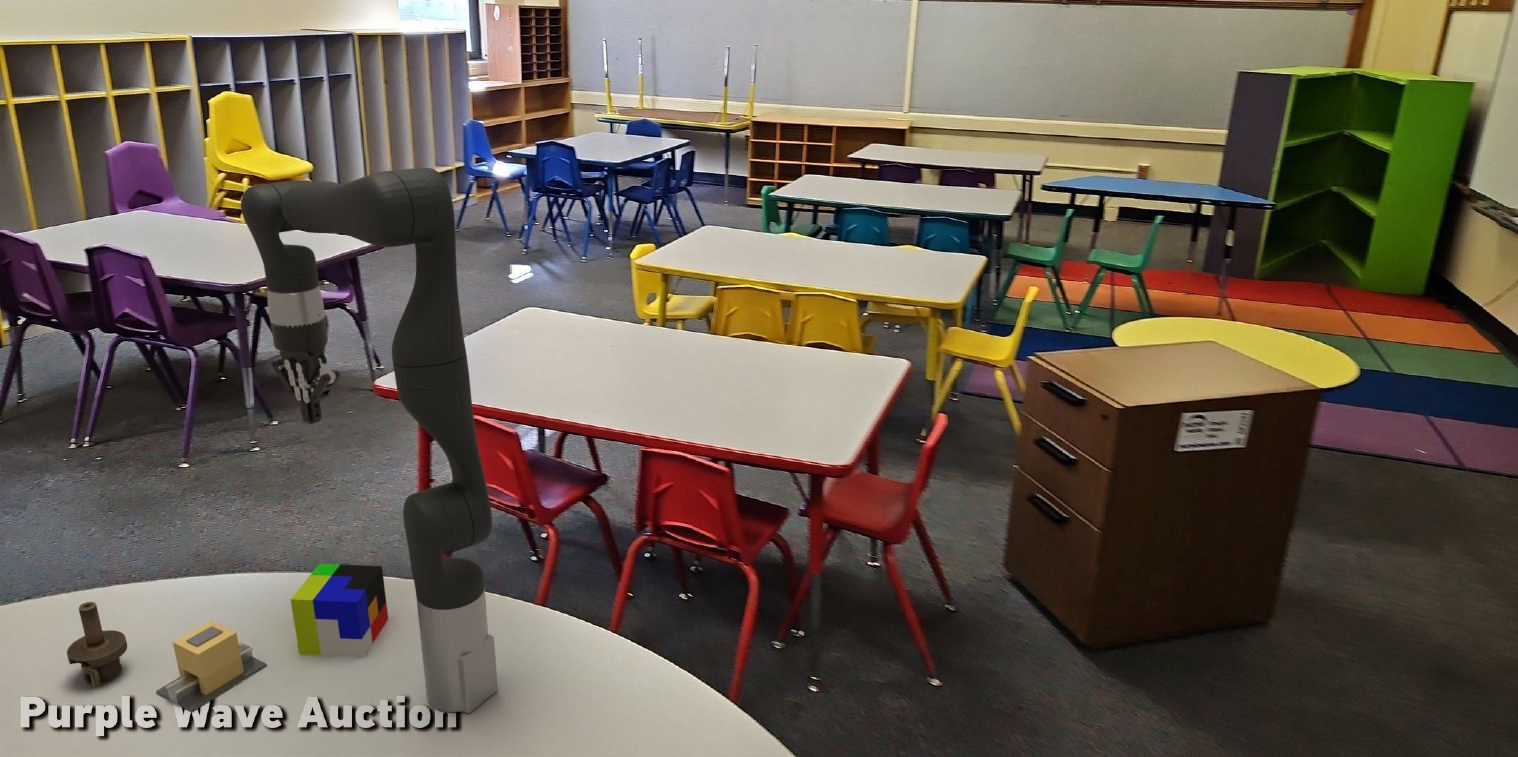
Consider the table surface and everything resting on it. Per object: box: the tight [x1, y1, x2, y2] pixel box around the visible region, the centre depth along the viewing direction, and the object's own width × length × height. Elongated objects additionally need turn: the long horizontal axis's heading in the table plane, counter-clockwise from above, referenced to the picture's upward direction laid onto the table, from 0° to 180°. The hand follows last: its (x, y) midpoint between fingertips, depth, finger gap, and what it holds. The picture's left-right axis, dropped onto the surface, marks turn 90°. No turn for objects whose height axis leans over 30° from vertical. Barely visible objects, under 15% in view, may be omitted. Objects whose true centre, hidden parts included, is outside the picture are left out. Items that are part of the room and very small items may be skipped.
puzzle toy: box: [290, 563, 389, 658], centre depth 156 cm, size 10×10×10 cm
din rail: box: [155, 642, 268, 713], centre depth 146 cm, size 8×12×2 cm, turn 152°
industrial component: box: [66, 601, 128, 688], centre depth 145 cm, size 9×7×12 cm
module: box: [172, 620, 244, 695], centre depth 145 cm, size 6×6×7 cm
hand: (312, 421), depth 156 cm, fingers closed
